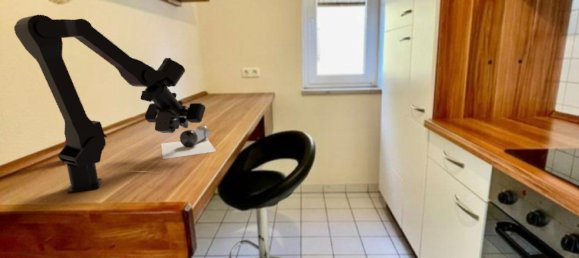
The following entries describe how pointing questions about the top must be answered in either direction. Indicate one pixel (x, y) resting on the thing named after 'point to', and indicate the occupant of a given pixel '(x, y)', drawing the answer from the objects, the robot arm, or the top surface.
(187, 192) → the top surface
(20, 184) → the top surface
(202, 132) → the silver and black cylinder
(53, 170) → the top surface
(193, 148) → the felt mat
